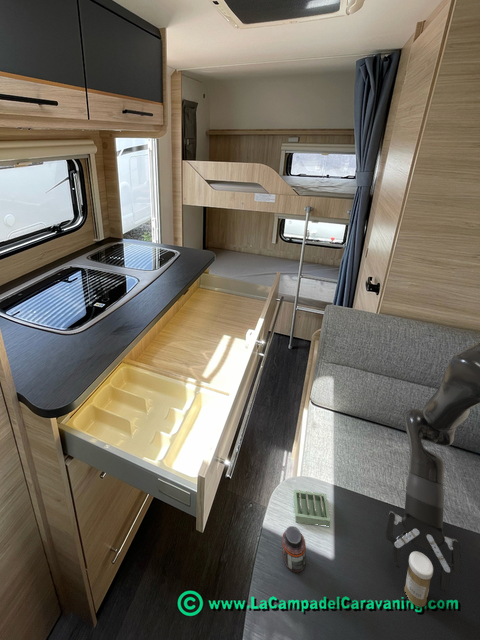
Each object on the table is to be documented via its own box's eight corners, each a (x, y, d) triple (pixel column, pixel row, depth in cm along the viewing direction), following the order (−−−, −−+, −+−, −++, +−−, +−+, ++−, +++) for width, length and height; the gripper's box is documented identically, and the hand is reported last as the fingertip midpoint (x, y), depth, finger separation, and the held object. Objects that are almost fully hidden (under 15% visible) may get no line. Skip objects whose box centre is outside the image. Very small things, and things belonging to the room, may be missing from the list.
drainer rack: (320, 502, 100) (321, 492, 99) (323, 521, 95) (323, 511, 94) (299, 499, 102) (299, 490, 100) (300, 517, 97) (300, 508, 96)
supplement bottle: (282, 545, 92) (281, 519, 88) (304, 548, 90) (304, 522, 86) (283, 571, 86) (282, 545, 82) (307, 575, 85) (306, 549, 81)
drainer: (325, 500, 101) (325, 493, 100) (330, 527, 94) (330, 520, 93) (293, 495, 103) (293, 489, 102) (295, 522, 97) (295, 515, 96)
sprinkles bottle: (430, 599, 78) (438, 566, 73) (418, 612, 76) (425, 579, 71) (411, 578, 82) (417, 546, 77) (399, 590, 80) (405, 557, 75)
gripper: (390, 487, 80) (383, 564, 75) (464, 516, 73) (462, 605, 68) (390, 482, 86) (383, 554, 81) (458, 509, 78) (455, 590, 74)
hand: (419, 577), depth 75 cm, fingers open, 8 cm apart
